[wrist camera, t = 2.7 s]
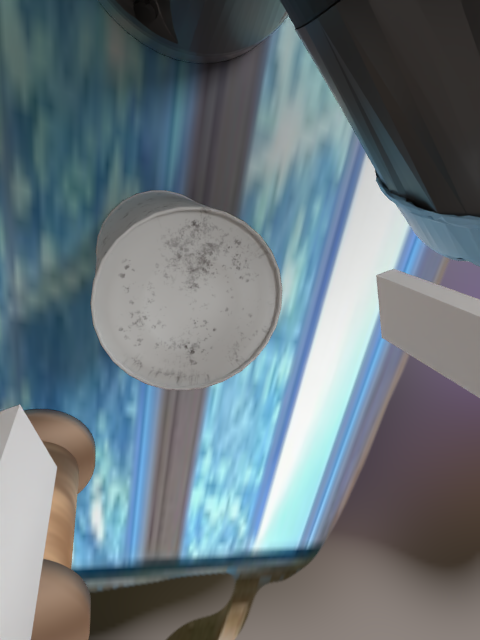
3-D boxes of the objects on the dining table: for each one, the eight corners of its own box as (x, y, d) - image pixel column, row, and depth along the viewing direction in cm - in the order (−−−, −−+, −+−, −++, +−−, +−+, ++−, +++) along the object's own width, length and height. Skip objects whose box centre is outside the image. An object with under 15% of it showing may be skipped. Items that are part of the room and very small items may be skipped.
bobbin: (-48, 435, 30) (-166, 648, 17) (70, 392, 32) (45, 555, 19) (8, 513, 34) (-53, 736, 21) (110, 471, 36) (114, 653, 22)
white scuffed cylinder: (244, 251, 32) (316, 295, 21) (166, 335, 33) (196, 420, 22) (156, 160, 28) (189, 158, 17) (67, 259, 28) (43, 318, 17)
